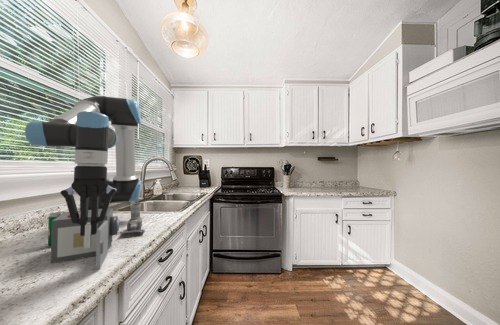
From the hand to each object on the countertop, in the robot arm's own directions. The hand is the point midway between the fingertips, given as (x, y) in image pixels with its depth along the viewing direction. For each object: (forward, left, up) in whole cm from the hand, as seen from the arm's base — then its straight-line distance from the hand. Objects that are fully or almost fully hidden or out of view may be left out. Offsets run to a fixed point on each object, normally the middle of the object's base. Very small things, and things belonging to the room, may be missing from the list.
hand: (88, 246), depth 58 cm
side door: (-3, +3, -6) cm, 7 cm away
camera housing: (-16, -3, -6) cm, 18 cm away
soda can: (-28, -15, -7) cm, 33 cm away
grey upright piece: (-32, +11, -7) cm, 34 cm away
